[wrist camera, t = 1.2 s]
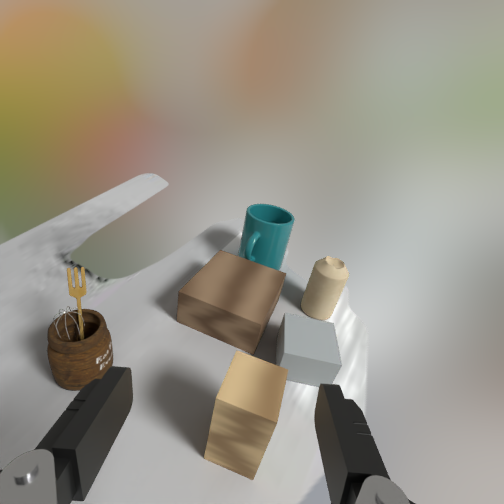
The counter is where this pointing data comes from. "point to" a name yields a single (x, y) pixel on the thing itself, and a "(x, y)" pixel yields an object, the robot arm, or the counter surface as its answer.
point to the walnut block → (231, 300)
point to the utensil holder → (79, 342)
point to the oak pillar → (245, 414)
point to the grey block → (308, 350)
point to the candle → (324, 288)
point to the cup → (266, 235)
